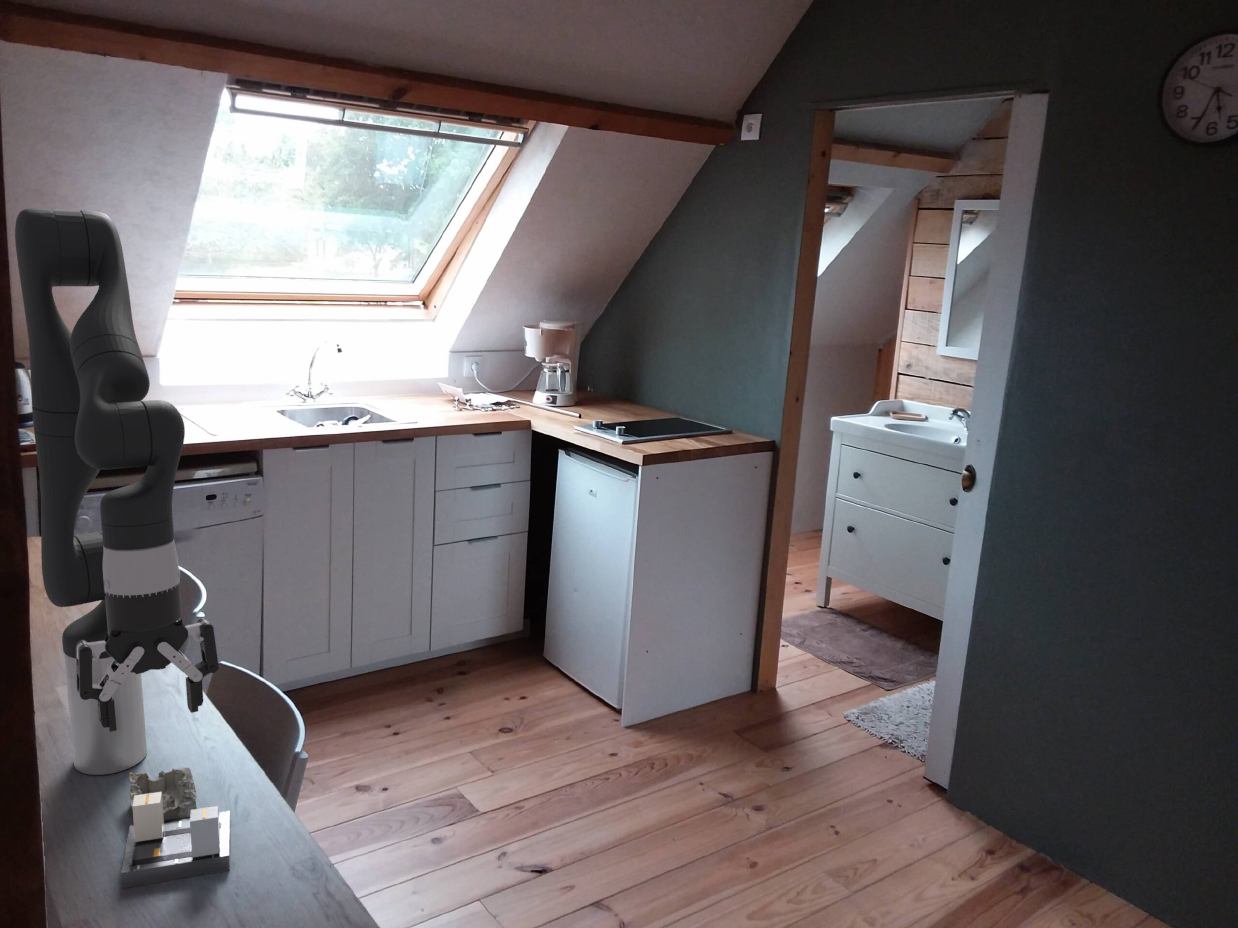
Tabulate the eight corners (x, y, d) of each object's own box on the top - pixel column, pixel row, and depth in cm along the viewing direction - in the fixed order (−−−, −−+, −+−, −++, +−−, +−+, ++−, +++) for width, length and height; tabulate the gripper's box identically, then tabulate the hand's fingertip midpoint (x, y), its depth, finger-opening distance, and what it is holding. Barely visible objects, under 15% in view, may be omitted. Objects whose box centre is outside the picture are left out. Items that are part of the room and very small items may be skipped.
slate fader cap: (193, 845, 119) (190, 809, 117) (220, 840, 120) (218, 805, 118) (192, 857, 116) (189, 820, 115) (219, 852, 117) (217, 816, 116)
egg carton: (128, 797, 131) (126, 769, 131) (190, 783, 135) (188, 756, 134) (135, 840, 122) (133, 810, 122) (201, 824, 126) (199, 795, 125)
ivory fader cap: (137, 830, 121) (134, 794, 120) (164, 826, 122) (161, 790, 121) (135, 841, 119) (132, 805, 118) (162, 837, 120) (160, 801, 119)
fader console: (131, 839, 123) (129, 824, 122) (230, 824, 127) (229, 809, 126) (122, 887, 114) (121, 872, 114) (229, 869, 118) (228, 854, 118)
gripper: (201, 563, 116) (210, 693, 119) (64, 584, 108) (77, 722, 111) (218, 579, 110) (227, 715, 113) (74, 602, 102) (88, 748, 105)
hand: (152, 719), depth 112 cm, fingers open, 8 cm apart
